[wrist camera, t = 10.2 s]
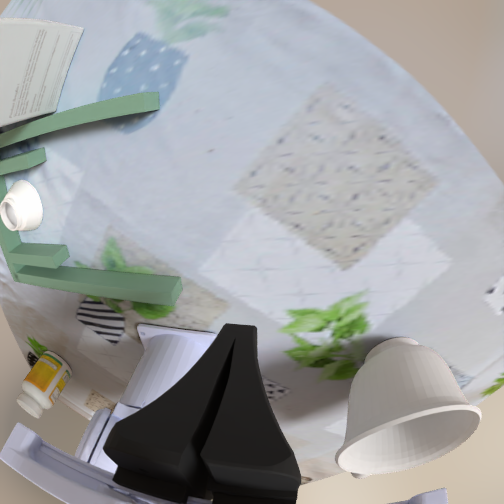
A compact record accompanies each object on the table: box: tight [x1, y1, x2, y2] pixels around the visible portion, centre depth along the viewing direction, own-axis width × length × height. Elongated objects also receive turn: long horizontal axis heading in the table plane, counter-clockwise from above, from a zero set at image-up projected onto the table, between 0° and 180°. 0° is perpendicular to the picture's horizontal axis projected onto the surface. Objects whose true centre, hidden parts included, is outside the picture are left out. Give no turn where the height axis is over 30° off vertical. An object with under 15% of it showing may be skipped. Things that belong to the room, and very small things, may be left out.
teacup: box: [335, 337, 482, 479], centre depth 21 cm, size 12×15×10 cm
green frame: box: [0, 92, 182, 306], centre depth 18 cm, size 15×20×8 cm
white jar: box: [0, 180, 43, 231], centre depth 21 cm, size 5×3×5 cm
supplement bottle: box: [17, 351, 72, 418], centre depth 31 cm, size 5×5×10 cm
